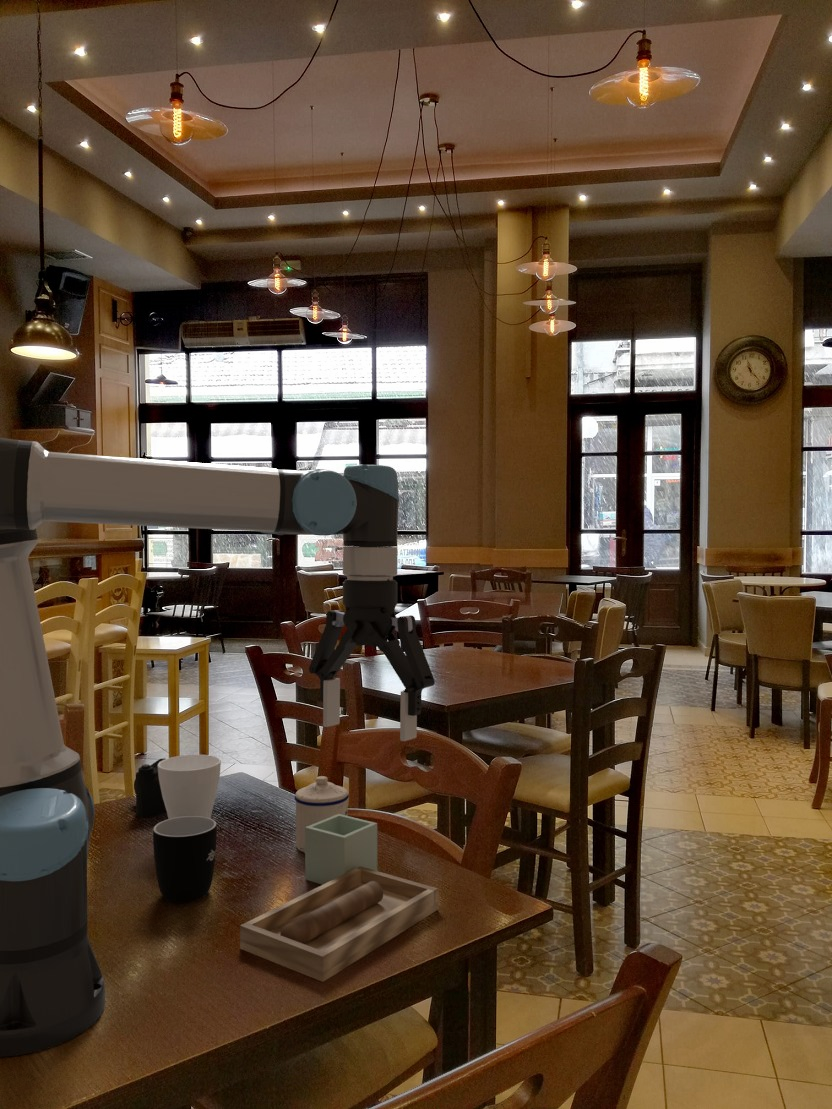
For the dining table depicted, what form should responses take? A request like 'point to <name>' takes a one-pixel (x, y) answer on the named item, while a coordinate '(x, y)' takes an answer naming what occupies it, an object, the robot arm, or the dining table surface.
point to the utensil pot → (339, 847)
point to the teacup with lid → (318, 805)
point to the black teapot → (148, 791)
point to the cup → (189, 784)
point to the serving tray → (347, 939)
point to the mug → (185, 857)
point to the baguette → (333, 913)
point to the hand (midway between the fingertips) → (368, 732)
